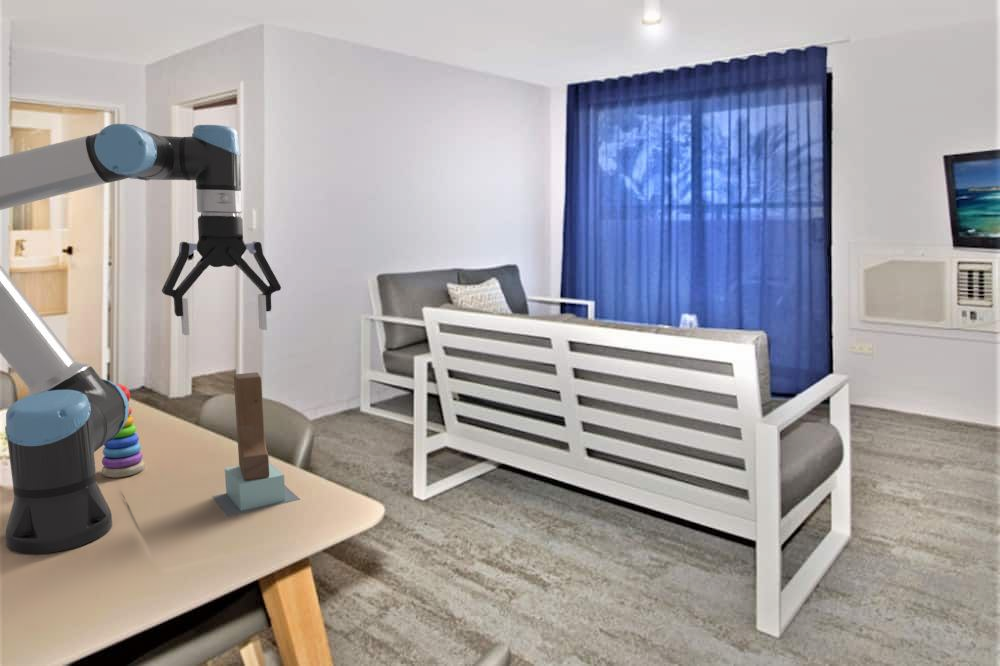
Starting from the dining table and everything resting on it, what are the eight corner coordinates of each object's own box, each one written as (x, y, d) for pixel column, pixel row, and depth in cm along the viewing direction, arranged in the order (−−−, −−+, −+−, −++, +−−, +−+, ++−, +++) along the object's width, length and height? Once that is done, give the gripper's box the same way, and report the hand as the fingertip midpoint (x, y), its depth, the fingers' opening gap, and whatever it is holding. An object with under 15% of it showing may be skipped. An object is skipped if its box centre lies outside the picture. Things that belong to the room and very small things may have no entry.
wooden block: (269, 477, 129) (264, 381, 126) (243, 481, 127) (237, 383, 124) (263, 462, 137) (258, 371, 134) (239, 466, 135) (233, 373, 132)
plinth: (241, 510, 127) (239, 484, 126) (226, 493, 135) (224, 468, 134) (285, 500, 131) (283, 474, 130) (268, 484, 139) (267, 460, 138)
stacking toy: (153, 466, 151) (146, 380, 148) (130, 479, 143) (122, 389, 140) (118, 465, 152) (110, 379, 149) (93, 478, 144) (85, 388, 141)
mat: (228, 519, 124) (228, 515, 124) (212, 499, 133) (212, 496, 133) (300, 502, 132) (300, 499, 132) (281, 484, 141) (280, 481, 141)
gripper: (146, 213, 117) (153, 339, 121) (295, 216, 131) (298, 329, 134) (140, 213, 123) (147, 333, 127) (283, 216, 137) (286, 324, 140)
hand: (225, 331), depth 130 cm, fingers open, 13 cm apart
